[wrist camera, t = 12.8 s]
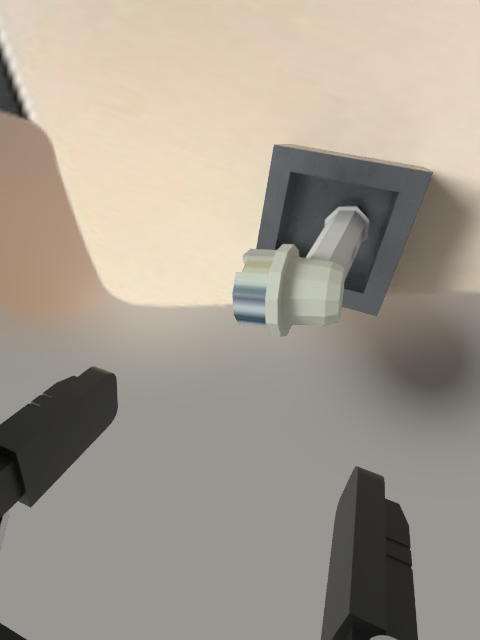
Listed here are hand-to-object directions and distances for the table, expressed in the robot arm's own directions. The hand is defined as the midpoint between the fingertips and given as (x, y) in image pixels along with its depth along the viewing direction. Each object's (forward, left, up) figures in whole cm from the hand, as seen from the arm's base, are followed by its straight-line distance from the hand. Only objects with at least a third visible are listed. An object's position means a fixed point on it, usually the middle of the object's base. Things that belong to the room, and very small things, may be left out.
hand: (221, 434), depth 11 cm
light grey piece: (0, 0, -34) cm, 34 cm away
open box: (0, 0, -35) cm, 35 cm away
